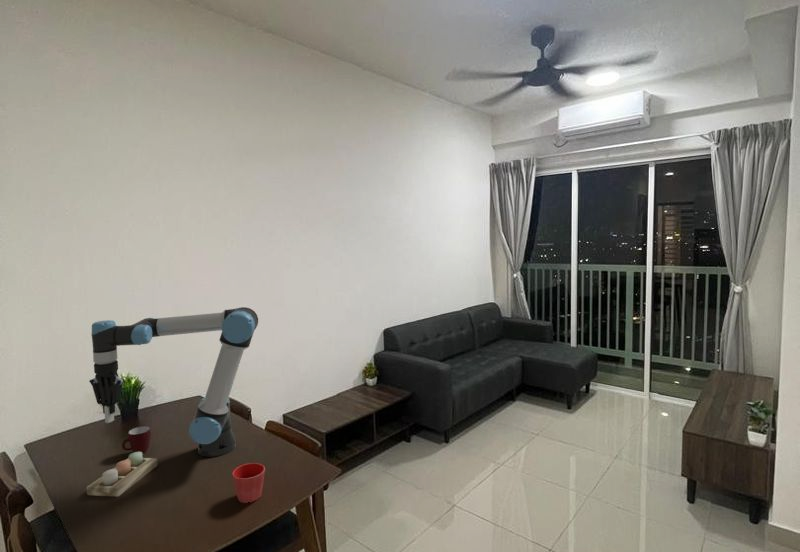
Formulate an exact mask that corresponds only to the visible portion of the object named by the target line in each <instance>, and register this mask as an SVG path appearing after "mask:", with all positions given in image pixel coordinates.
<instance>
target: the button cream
mask: <svg viewBox="0 0 800 552" xmlns="http://www.w3.org/2000/svg"><path fill="white" fill-rule="evenodd" d="M102 476H103V484H104V485H109V486H112V485H111V484H113V483H115V482H117V481H118V470H117V469H113V468H112V469H108V470H106V471H103V473H102ZM102 476H101V477H102Z"/></svg>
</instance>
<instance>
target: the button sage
mask: <svg viewBox="0 0 800 552" xmlns="http://www.w3.org/2000/svg"><path fill="white" fill-rule="evenodd" d="M128 458H129V460H130V462H131V466H135V467H136V465H139V464H141V463H142V462H143V458H144V456H143V454H142V452H132V453H129V455H128Z"/></svg>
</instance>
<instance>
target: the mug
mask: <svg viewBox="0 0 800 552" xmlns="http://www.w3.org/2000/svg"><path fill="white" fill-rule="evenodd" d="M151 434H152V433H151V427H150V426H145V425H144V426H138V427H134V428H132V429H130V430H129V431H128V435H127V436H128V437H127V438H126V439H124V440H123V442H122V443H121V448H122V449H123V450H124V451H132V453H134V452H142V455H144V454H146V453H147V452H148V449H149V447H150V444H151V443H150V441H151ZM127 442H129V445H130V448H129V447H128V448H127V447H126V446H125V445H126V443H127Z"/></svg>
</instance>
